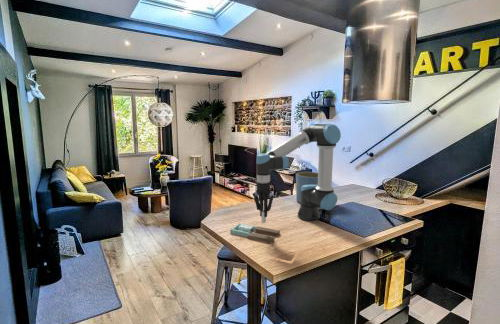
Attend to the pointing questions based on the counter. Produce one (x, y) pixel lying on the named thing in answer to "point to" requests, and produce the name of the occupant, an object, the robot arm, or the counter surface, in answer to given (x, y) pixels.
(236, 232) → the tray
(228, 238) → the counter surface
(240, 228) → the grey cube-shaped block
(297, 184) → the planter
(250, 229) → the grey wood-grain cube
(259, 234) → the slot board
